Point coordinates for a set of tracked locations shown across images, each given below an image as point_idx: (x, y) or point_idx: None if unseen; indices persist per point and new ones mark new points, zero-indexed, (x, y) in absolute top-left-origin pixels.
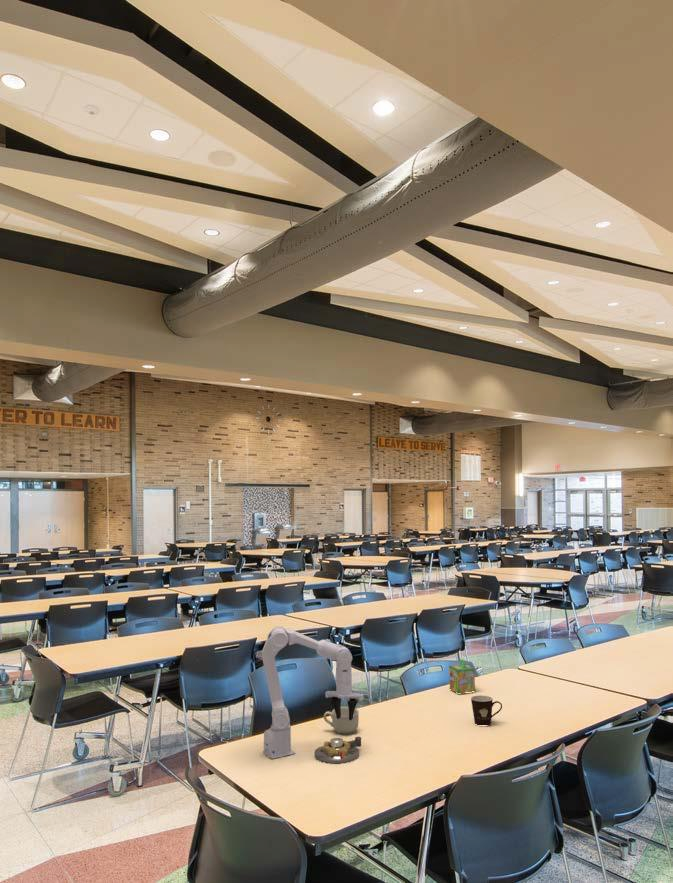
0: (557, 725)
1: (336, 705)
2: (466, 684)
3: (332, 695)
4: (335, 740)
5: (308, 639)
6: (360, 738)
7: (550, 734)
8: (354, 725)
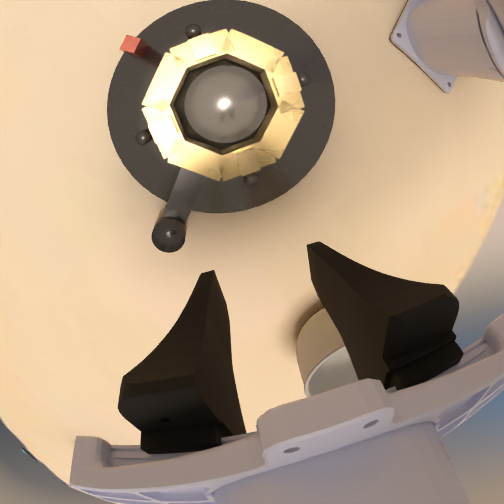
0: (43, 450)
1: (365, 297)
2: None
3: (471, 365)
4: (227, 94)
5: None
6: (152, 237)
7: (18, 431)
8: (300, 347)
